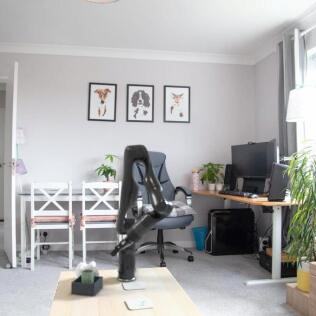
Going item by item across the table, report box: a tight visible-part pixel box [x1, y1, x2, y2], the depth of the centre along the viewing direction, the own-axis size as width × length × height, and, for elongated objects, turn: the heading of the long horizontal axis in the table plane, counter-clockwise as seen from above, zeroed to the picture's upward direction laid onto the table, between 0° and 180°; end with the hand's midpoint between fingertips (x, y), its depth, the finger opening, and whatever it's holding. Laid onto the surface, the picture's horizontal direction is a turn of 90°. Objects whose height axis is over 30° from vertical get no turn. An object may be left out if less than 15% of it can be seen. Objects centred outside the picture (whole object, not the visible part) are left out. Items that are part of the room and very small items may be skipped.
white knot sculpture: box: [75, 260, 100, 278], centre depth 186 cm, size 11×12×9 cm
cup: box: [81, 269, 94, 284], centre depth 169 cm, size 6×6×9 cm
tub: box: [70, 275, 104, 297], centre depth 169 cm, size 12×12×6 cm
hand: (115, 252), depth 164 cm, fingers open, 8 cm apart
